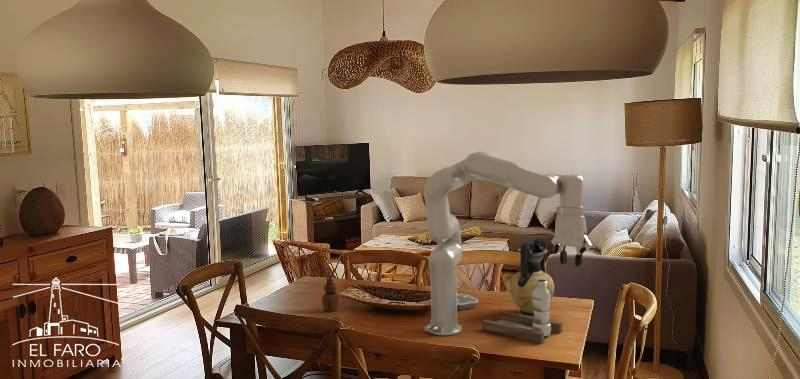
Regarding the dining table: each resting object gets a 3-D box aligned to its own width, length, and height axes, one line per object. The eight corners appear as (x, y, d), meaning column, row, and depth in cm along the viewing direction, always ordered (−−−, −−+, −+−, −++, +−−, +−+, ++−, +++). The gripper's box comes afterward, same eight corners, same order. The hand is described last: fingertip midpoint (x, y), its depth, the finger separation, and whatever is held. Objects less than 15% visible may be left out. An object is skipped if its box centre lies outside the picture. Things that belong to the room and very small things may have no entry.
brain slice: (472, 299, 278) (472, 292, 278) (481, 310, 262) (481, 303, 261) (427, 301, 276) (427, 294, 276) (434, 313, 259) (434, 306, 259)
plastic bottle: (553, 338, 226) (553, 282, 224) (533, 338, 226) (533, 283, 224) (549, 332, 233) (549, 278, 230) (530, 332, 233) (530, 278, 230)
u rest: (541, 344, 221) (541, 334, 221) (482, 330, 237) (482, 321, 236) (562, 332, 233) (562, 322, 232) (504, 319, 248) (504, 310, 248)
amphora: (543, 324, 242) (543, 245, 239) (502, 316, 252) (502, 241, 249) (560, 312, 257) (561, 237, 253) (521, 305, 266) (521, 234, 263)
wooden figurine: (327, 313, 261) (326, 277, 259) (320, 310, 265) (318, 275, 264) (341, 310, 265) (340, 274, 263) (334, 307, 270) (332, 272, 268)
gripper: (543, 211, 220) (543, 263, 222) (590, 214, 209) (589, 270, 211) (553, 208, 226) (553, 259, 228) (600, 212, 215) (599, 265, 217)
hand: (570, 264), depth 219 cm, fingers open, 4 cm apart
